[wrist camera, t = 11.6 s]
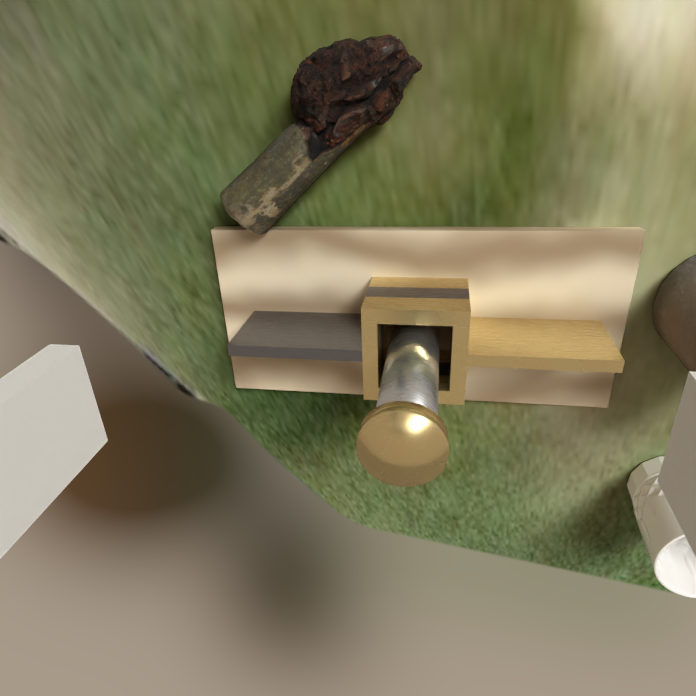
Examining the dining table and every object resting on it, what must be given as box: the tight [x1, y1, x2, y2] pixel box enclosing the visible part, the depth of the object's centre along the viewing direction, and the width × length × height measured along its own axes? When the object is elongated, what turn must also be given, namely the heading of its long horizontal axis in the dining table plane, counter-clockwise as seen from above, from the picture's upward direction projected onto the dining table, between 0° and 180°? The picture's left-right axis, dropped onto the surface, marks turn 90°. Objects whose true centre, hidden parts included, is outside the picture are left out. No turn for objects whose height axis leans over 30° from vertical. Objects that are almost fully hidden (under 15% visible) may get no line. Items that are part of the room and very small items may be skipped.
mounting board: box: [211, 226, 646, 408], centre depth 48 cm, size 16×35×1 cm, turn 92°
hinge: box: [227, 277, 625, 405], centre depth 44 cm, size 8×30×7 cm, turn 92°
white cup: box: [627, 456, 696, 598], centre depth 48 cm, size 8×8×10 cm
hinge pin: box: [356, 324, 449, 487], centre depth 39 cm, size 5×5×18 cm
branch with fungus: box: [220, 35, 422, 235], centre depth 40 cm, size 18×7×6 cm, turn 132°
